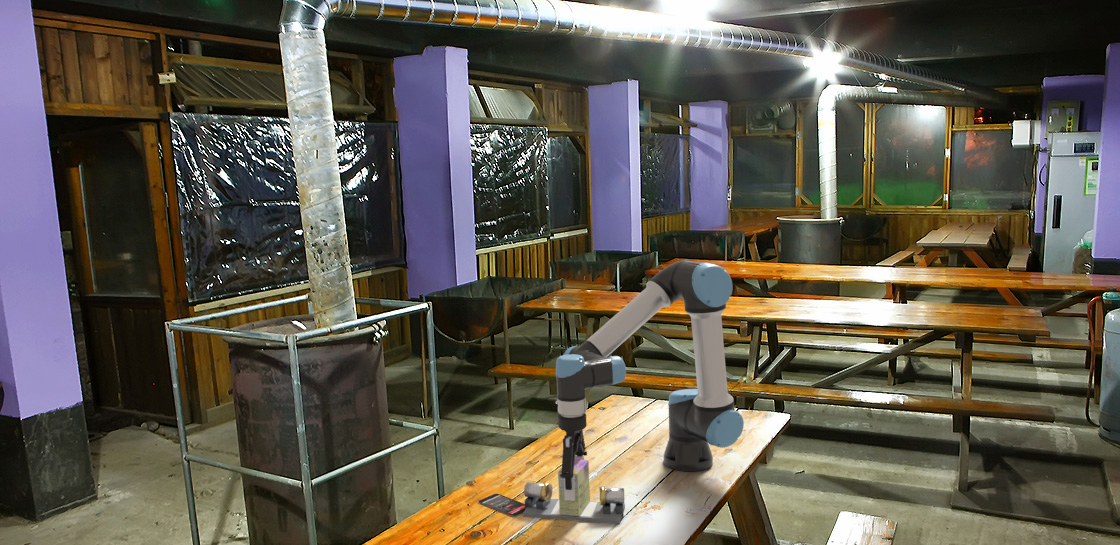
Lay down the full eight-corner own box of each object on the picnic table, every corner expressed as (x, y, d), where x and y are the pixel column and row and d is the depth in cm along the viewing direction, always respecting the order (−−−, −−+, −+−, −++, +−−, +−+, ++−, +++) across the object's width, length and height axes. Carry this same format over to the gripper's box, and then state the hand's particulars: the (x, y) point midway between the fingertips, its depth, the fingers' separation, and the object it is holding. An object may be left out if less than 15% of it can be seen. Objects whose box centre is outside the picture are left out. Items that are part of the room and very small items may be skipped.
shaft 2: (624, 509, 206) (623, 483, 205) (624, 517, 202) (624, 490, 201) (600, 509, 207) (599, 483, 206) (600, 517, 202) (599, 491, 201)
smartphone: (513, 516, 204) (477, 501, 214) (513, 518, 204) (477, 503, 214) (533, 507, 209) (496, 492, 219) (533, 509, 209) (496, 495, 219)
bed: (624, 507, 208) (624, 503, 208) (619, 523, 198) (619, 519, 198) (532, 500, 214) (532, 497, 214) (523, 516, 204) (523, 512, 204)
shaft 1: (552, 506, 210) (552, 480, 209) (545, 513, 205) (545, 487, 204) (531, 503, 212) (530, 477, 211) (524, 510, 208) (523, 484, 207)
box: (570, 498, 212) (569, 457, 210) (590, 500, 210) (589, 459, 208) (558, 514, 202) (557, 472, 200) (579, 517, 200) (578, 474, 199)
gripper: (568, 398, 215) (571, 470, 218) (547, 428, 191) (550, 508, 194) (594, 399, 214) (596, 471, 216) (576, 429, 190) (579, 510, 192)
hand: (575, 489), depth 205 cm, fingers open, 13 cm apart
